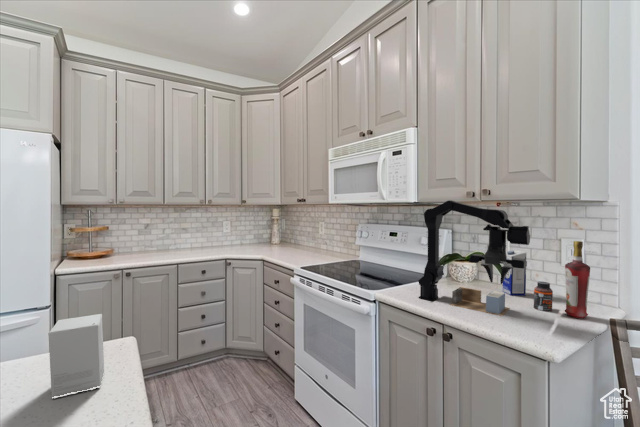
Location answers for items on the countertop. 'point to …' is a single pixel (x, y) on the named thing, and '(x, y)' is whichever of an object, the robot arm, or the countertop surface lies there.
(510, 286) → the milk carton
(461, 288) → the shelf
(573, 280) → the liquor
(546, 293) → the supplement bottle
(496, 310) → the grey rectangular block
